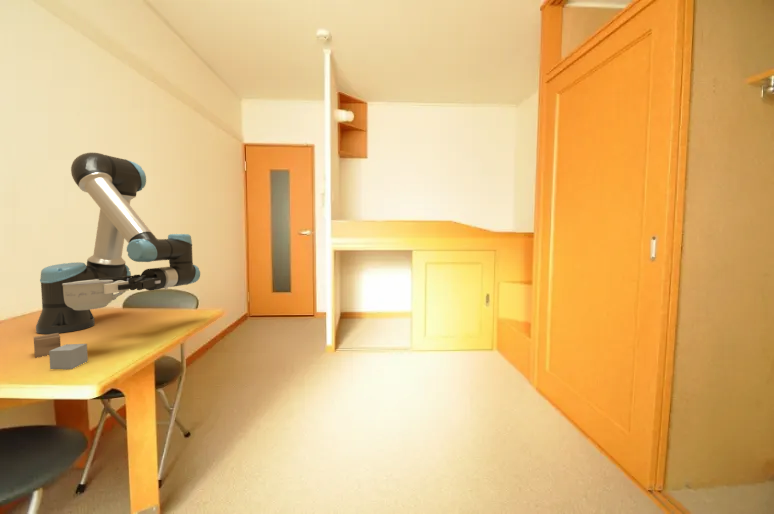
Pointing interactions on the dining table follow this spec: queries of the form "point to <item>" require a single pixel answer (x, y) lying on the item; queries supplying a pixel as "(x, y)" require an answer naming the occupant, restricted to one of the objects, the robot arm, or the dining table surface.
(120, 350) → the dining table surface
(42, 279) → the robot arm
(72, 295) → the teacup
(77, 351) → the slate block
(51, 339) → the walnut block
